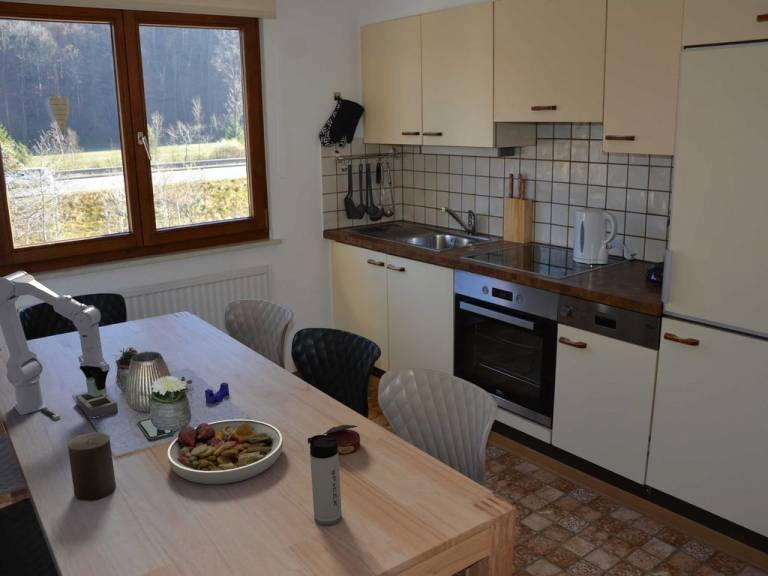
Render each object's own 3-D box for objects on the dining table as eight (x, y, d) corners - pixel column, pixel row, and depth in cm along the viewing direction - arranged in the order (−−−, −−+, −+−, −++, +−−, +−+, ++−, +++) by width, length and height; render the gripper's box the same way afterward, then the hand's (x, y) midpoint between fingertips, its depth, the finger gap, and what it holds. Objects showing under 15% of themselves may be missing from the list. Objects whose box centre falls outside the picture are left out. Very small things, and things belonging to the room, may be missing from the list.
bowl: (302, 442, 202) (300, 416, 200) (249, 498, 175) (246, 468, 173) (209, 429, 212) (206, 405, 209) (145, 480, 184) (141, 452, 182)
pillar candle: (91, 505, 173) (83, 448, 169) (66, 494, 178) (58, 439, 174) (124, 487, 181) (117, 432, 177) (99, 477, 186) (92, 423, 182)
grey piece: (76, 404, 232) (75, 395, 231) (102, 397, 237) (100, 388, 236) (92, 419, 221) (90, 409, 220) (118, 411, 226) (116, 402, 225)
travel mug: (312, 511, 167) (307, 433, 162) (341, 509, 168) (337, 431, 162) (312, 527, 161) (307, 446, 156) (342, 525, 162) (337, 443, 156)
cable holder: (213, 404, 229) (212, 392, 228) (206, 402, 231) (204, 390, 230) (232, 395, 235) (231, 384, 234) (225, 393, 237) (223, 382, 236)
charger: (88, 394, 224) (85, 378, 223) (100, 390, 227) (97, 374, 226) (94, 397, 222) (92, 381, 220) (106, 392, 225) (104, 377, 223)
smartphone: (161, 415, 221) (174, 432, 208) (161, 418, 221) (175, 435, 209) (136, 421, 217) (149, 439, 205) (136, 424, 217) (149, 442, 205)
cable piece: (41, 412, 227) (40, 408, 227) (45, 410, 228) (45, 407, 228) (55, 420, 221) (55, 416, 221) (60, 418, 222) (59, 415, 222)
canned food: (327, 468, 196) (308, 438, 195) (341, 448, 205) (323, 419, 203) (360, 457, 191) (340, 426, 189) (373, 436, 200) (355, 406, 198)
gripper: (66, 345, 222) (73, 386, 226) (91, 354, 213) (97, 397, 217) (88, 339, 227) (94, 379, 231) (113, 348, 218) (119, 389, 222)
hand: (97, 387), depth 224 cm, fingers closed on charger, 4 cm apart
